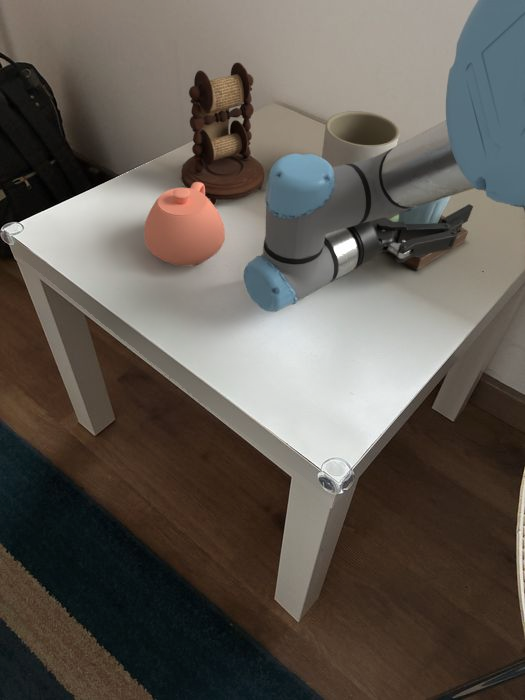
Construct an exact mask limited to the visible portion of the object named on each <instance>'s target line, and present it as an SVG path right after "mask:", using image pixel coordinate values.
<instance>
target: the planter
mask: <svg viewBox="0 0 525 700" xmlns="http://www.w3.org/2000/svg"><path fill="white" fill-rule="evenodd" d="M399 138H400V129H399V127H398V125H397V124H396V123H395V122H393V121H392V120H391V119H389V118H387V117H385V116H383V115H381V114H377V113H374V112H370V111H361V110H350V111H349V110H348V111H343V112H338V113H336V114H333V115H332V116H330V117H329V118H328V119H327V120H326V122H325V128H324V136H323V143H322V144H323V145H322V150H321V151H322V152H321V158H323V159H325V160H326V161H327V162H328V163H329V164H330V165H331V166H332V167H336V166H340V165H345V164H351V163H355V162H358V161H362V160H366V159H369V158H372V157H375V156H378V155H380V154H382V153H384V152H386V151H388V150H390V149H392V148H394V147H395V146H397V145H398V142H399Z"/></svg>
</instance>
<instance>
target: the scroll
mask: <svg viewBox="0 0 525 700" xmlns="http://www.w3.org/2000/svg"><path fill="white" fill-rule="evenodd" d="M193 84H194V85H193V86H191V87H190V88H189V90H188V94H189V97H190V101H189V102H190V103H191V104H192V107H191V115H192V116H191V117H190V118H189V126H190V128H191V129H192V132H193V137H192V142H193V145H192V147H191V151H192V153H193V154H194V155H193V156H191V157H189V158H188V159H187V160H186V161H184V163H183V164H182V166H181V170H180V176H181V182H182V184H183V186H184V188H191V185H192V184H193V183H194V182H200V183H203V184H204V186H205V196H206V197H207V198H208V199H209V200H210V201H211V203H212V204H213V205H214V206H215V205H216V203H217V201H233V200H238V199H242V198H246V197H249V196H251V195H254V193H257V192H258V191H260V190H261V189H262V187H263V184H264V182H265V169H264V166H263V165H262V163H261V162H260V161H259V160H258V159H256V158H255V157H253V156H251V154H252V153H251V152H252V151H251V148H250V145H251V140H252V137H253V133H252V132H251V128H252V125H251V121H250V120H251V119H252V116H253V115H254V111H255V110H254V106H253V104H252V99H253V97H252V94H251V91H252V90H253V87H252V86H253V85H254V77H253V76H252V75H251V74H250V73H249V72H248V70H247V69H246V68H245V66H244V65H243V64H242V63H241V62H234V63H233V65H232V66H231V69H230V75H228V76H223V77H218V78H214V79H210V78H209V76H208V75H207V73H206V71H203V70H198V71H196V73H195V76H194V81H193ZM238 107H239V108H238ZM230 109H231V110H230ZM240 116H241V118H242V119H243V121H242V123H241V122H240V121H239V120H237V119H235V120H233V121H231V123H230V119H231V118H240Z"/></svg>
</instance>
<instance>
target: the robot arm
mask: <svg viewBox="0 0 525 700" xmlns="http://www.w3.org/2000/svg"><path fill="white" fill-rule="evenodd" d="M455 49H456V50H455V57H454V61H453V64H452V66H451V67H450V68H449V72H448V75H447V76H448V77H447V83H446V93H445V120H443V121H441V122H439V123H438V124H435V125H433V126H431V127H429V128H428V129H426V130H424V131H422V132H420V133H418V134H416V135H414V136H412V137H411V138H408V139H407V140H404V141H403V142H401V143H398V144H397V146H395V147H394V148H392V149H390V150H388V151H386V152H384V153H382V154H380V155H378V156H375V157H372V158H369V159H366V160H362V161H358V162H355V163H351V164H345V165H340V166H336V167H332V166H331V165H330V164H329V163H328V162H327V161H326V160H325V159H323V158H322V156H318V155H316V154H311V153H305V154H300V153H290V154H286V155H284V156H282V157H280V158H278V159H277V160H276V161H275V162H274V163H273V165H272V166H271V168H270V171H269V175H268V180H267V186H266V194H265V236H264V240H263V246H262V254H261V255H256V257H254V258H253V259H252V260H250V261H248V263H247V264H246V266H245V267H244V269H243V282H244V286H245V289H246V291H247V293H248V295H249V297H250V299H252V301H253V302H254V303H255V304H256V305H257V306H258V307H259V308H260V309H261V310H263V311H265V312H268V313H274V312H278V311H280V310H283V309H284V308H288V307H289V306H291V305H296V304H297V303H298V302H299V301H301V300H303V299H305V298H306V297H309V296H310V295H312V294H314V293H315V292H316V291H318V290H320V289H322V288H323V287H325V286H327V285H329V284H330V283H332V282H334V281H336V280H337V279H339V278H342V277H343V276H344V275H347V274H348V273H350V272H352V271H353V270H356V269H358V268H359V267H361V266H363V265H365V264H367V263H369V262H370V261H372V260H373V259H374V258H375V257H377V256H378V255H379V254H380V253H385V252H388V251H391V252H392V253H394V254H395V255H397V256H395V261H396V262H397V263H399V264H400V263H404V261H406V260H407V259H409V258H411V257H416V256H420V255H425V254H430V253H434V252H439V251H444V250H448V249H452V248H453V246H454V243H455V241H456V238H457V236H458V233H457V231H459V230H460V229H461V227H463V225H464V224H465V223H467V222H468V221H469V219H470V216H471V214H472V211H473V208H474V205H472V204H470V203H469V204H466V205H465V206H463V207H461V208H460V209H458V210H456V211H454V212H452V213H451V214H450V213H449V215H447V216H444V217H445V218H443V220H442V222H441V223H431V224H405V223H404V222H393V221H391V220H389V219H387V218H385V217H387V216H391V215H394V214H400V213H403V212H407V211H411V210H413V209H415V208H416V207H419V206H421V205H423V204H427V203H430V202H433V201H436V200H439V199H442V198H445V197H448V196H451V197H452V196H454V195H457V194H460V193H461V194H462V193H464V192H467V191H470V190H473V189H475V190H478V191H484V192H485V195H486V197H488V198H489V199H490V200H492V201H494V202H496V203H501V204H504V205H509V206H511V207H517V208H523V211H524V212H525V0H477V1H476V3H475V4H474V6H473V8H472V10H471V11H470V13H469V15H468V17H467V19H466V21H465V23H464V25H463V28H462V30H461V32H460V35H459V37H458V40H457V42H456V48H455ZM396 230H398V231H397V235H396V237H395V232H396ZM452 250H453V249H452Z"/></svg>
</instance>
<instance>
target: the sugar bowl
mask: <svg viewBox="0 0 525 700" xmlns="http://www.w3.org/2000/svg"><path fill="white" fill-rule="evenodd" d="M144 224H145V225H144V231H143V236H144V237H143V238H144V243H145V246H146V247H147V249H148V250H149V251H150V253H151V254H153V256H155V257H156V258H158V259H159V260H162V261H164V262H165V263H168V264H171V265H174V266H183V267H184V266H187V267H188V266H199V265H200V264H202V263H205V262H206V261H208V260H210V258H212V257H213V256H215V255H216V254H217V253H218V252H219V251H220V250H221V248H222V247H223V245H224V243H225V239H226V230H225V225H224V221H223V219H222V217H221V215H220V212H219V211H218V209H217V208H216V206H215V204H214V205H213V204H212V203H211V201H210V199H209V198H207V197H206V196H205V186H204V184H203V183H200V182H194V183H193V184H192V185H191V188H186V187H176V188H175V187H174V188H171V189H168V190H166V191H165V192H163V193H162V194H160V195H159V196H158V198H157V199H156V200H155V202H154V203H153V205H152V207H151V208H150V210H149V211H148V214H147V216H146V220H145V223H144Z"/></svg>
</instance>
